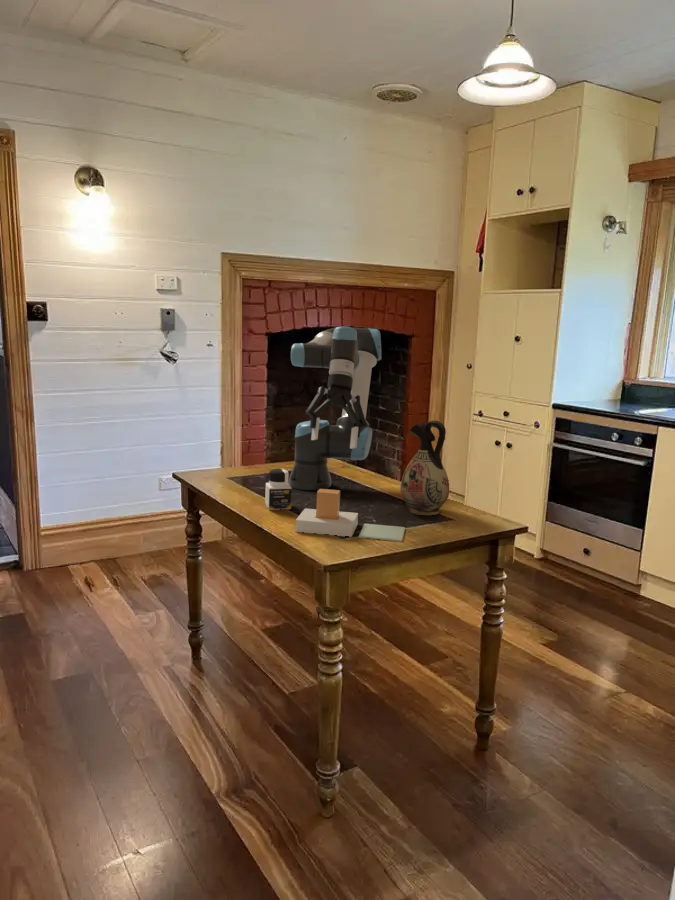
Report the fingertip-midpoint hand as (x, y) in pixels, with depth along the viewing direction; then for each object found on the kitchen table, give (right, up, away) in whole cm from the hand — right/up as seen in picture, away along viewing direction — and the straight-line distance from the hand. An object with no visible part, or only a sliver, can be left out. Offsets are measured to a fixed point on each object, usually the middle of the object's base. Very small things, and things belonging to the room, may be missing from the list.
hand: (334, 444), depth 206 cm
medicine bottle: (-18, -20, +11) cm, 29 cm away
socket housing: (-2, -24, -8) cm, 26 cm away
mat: (+14, -25, -11) cm, 31 cm away
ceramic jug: (+29, -22, +12) cm, 38 cm away
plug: (-2, -24, -8) cm, 26 cm away
